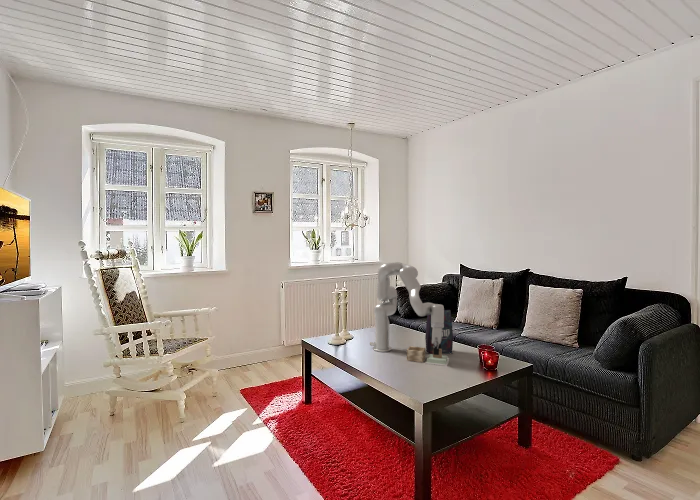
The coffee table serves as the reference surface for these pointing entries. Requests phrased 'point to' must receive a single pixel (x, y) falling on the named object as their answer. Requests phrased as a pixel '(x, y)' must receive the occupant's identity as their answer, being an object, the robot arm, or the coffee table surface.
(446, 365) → the mat
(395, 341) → the coffee table surface
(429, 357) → the lid
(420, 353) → the box
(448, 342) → the dark patterned coffee bag
